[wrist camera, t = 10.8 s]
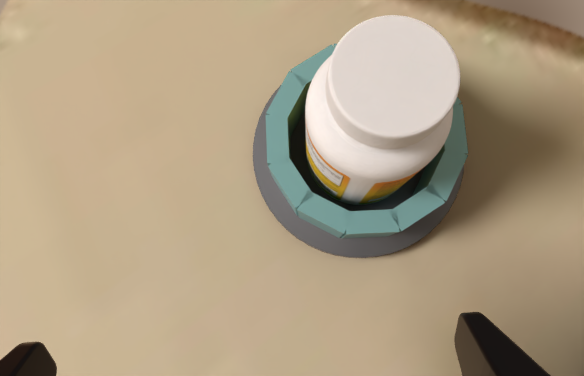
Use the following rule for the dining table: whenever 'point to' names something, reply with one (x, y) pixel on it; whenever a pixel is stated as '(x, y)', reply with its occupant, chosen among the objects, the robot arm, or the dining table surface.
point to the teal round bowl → (335, 214)
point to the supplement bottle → (379, 108)
